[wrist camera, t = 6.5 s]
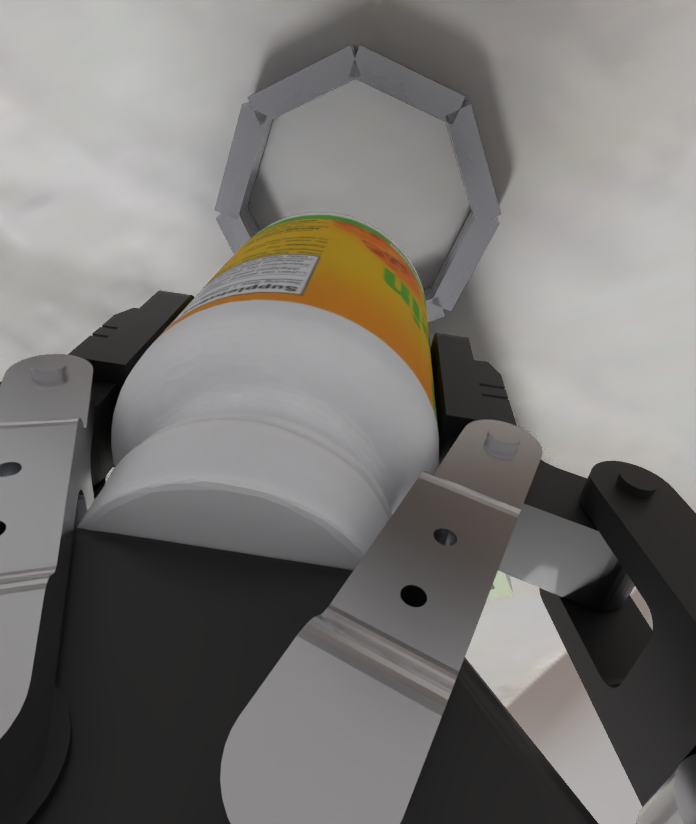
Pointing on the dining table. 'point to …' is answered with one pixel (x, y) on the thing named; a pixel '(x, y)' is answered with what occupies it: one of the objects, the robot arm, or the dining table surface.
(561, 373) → the dining table surface
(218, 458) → the supplement bottle
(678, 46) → the dining table surface
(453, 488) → the robot arm
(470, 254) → the socket ring
